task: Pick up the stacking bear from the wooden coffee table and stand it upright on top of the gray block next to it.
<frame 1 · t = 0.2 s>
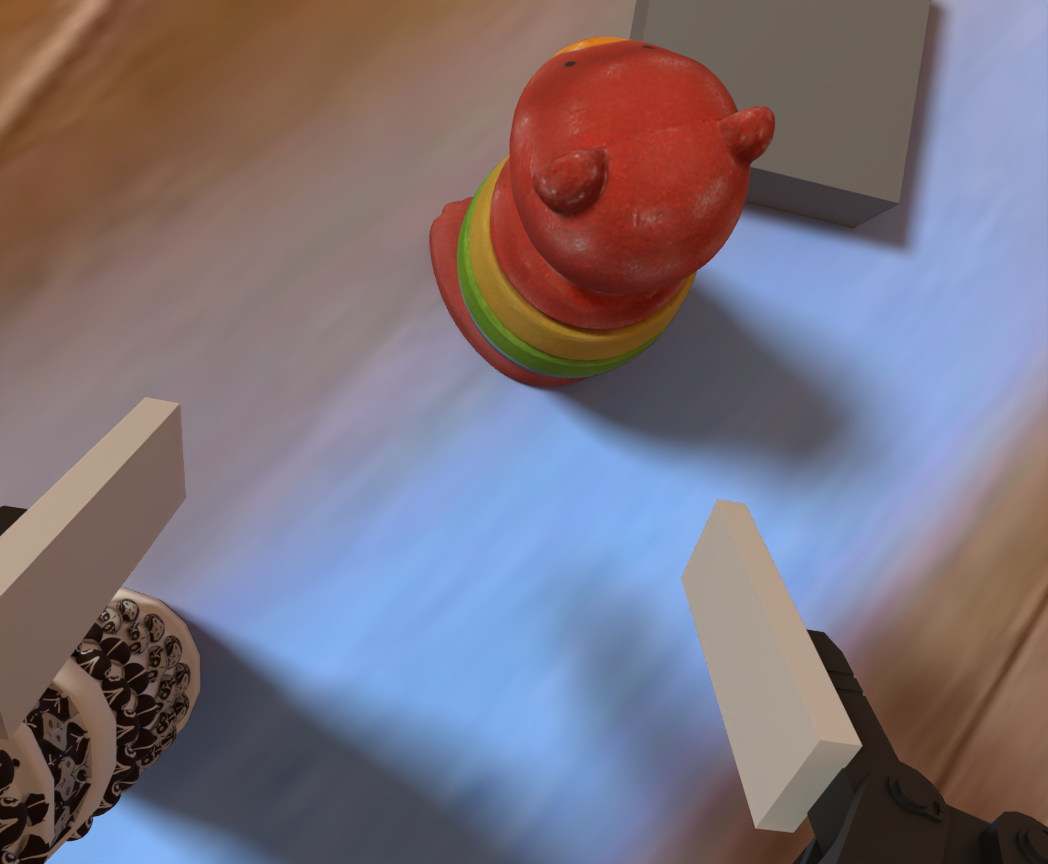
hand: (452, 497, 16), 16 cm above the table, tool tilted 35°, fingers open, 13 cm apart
stacking bear: (544, 292, 34), on the table
gray block: (750, 77, 36), on the table
decorative candle: (107, 675, 31), on the table
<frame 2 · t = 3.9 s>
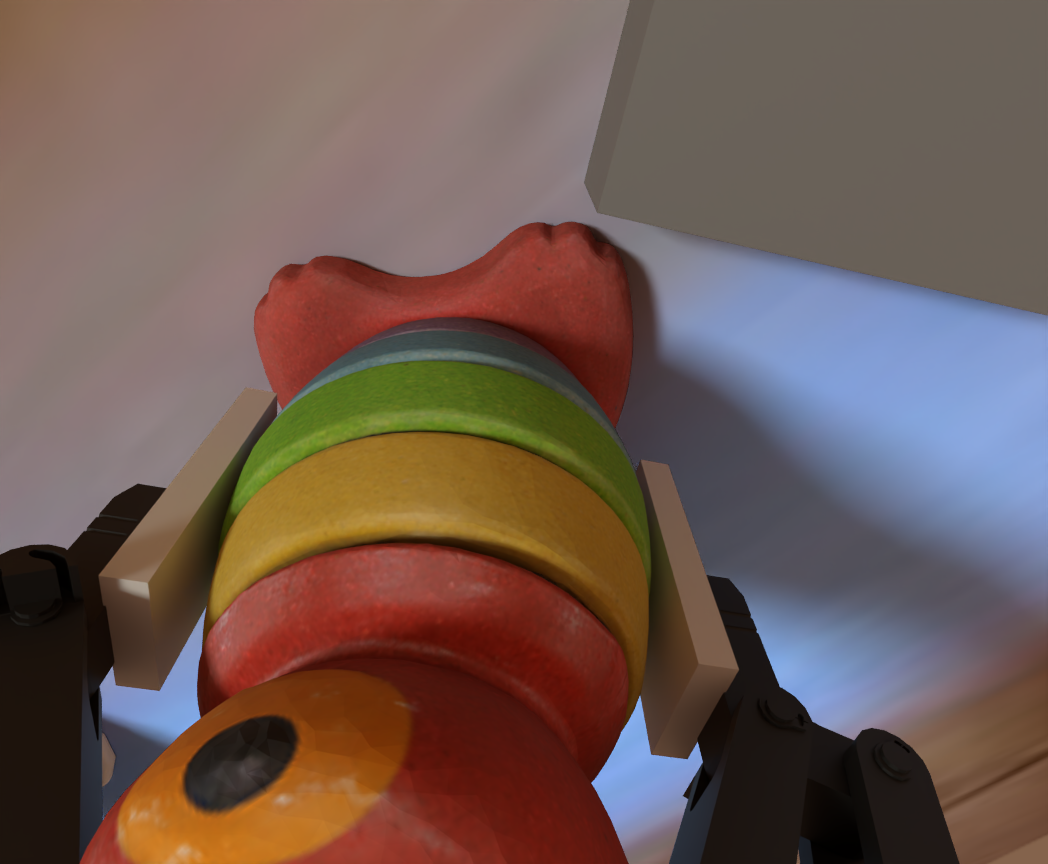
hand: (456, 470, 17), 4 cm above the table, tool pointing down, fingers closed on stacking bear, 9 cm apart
stacking bear: (463, 393, 21), on the table, touching gripper
decorative candle: (20, 740, 30), on the table
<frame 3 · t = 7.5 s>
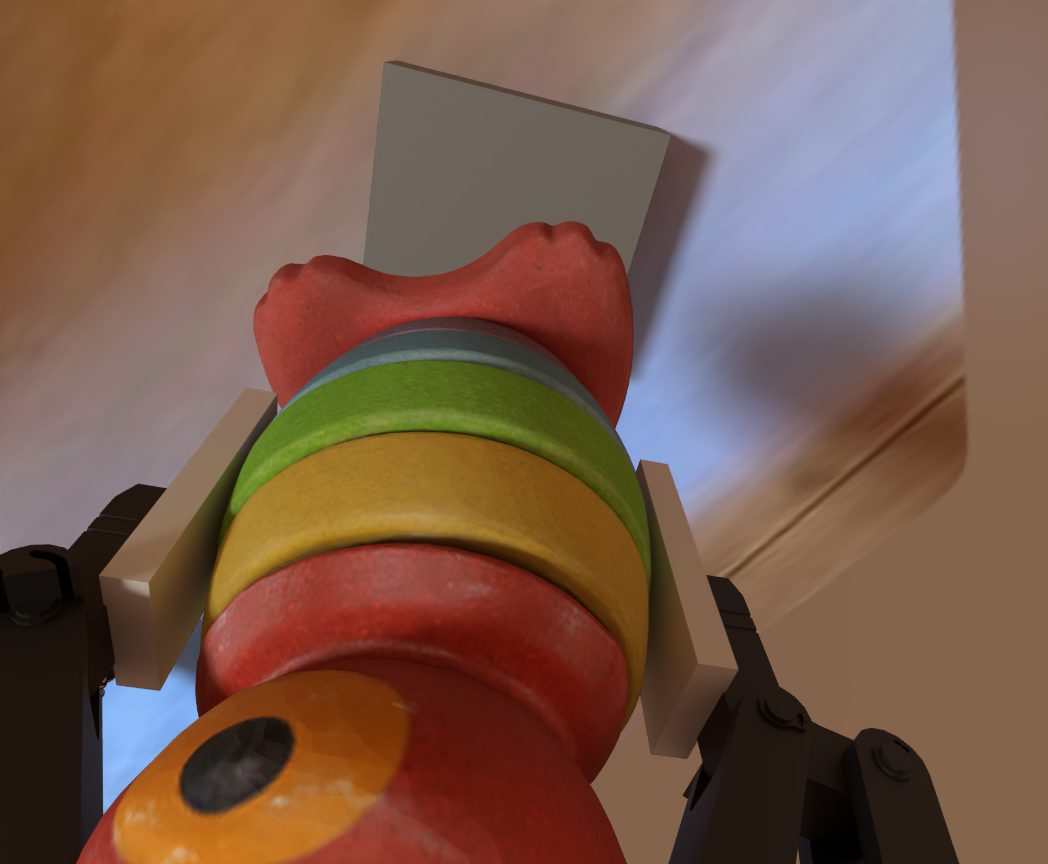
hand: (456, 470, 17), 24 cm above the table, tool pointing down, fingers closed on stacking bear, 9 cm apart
stacking bear: (463, 393, 21), point 20 cm above the table, touching gripper
gray block: (503, 226, 38), on the table
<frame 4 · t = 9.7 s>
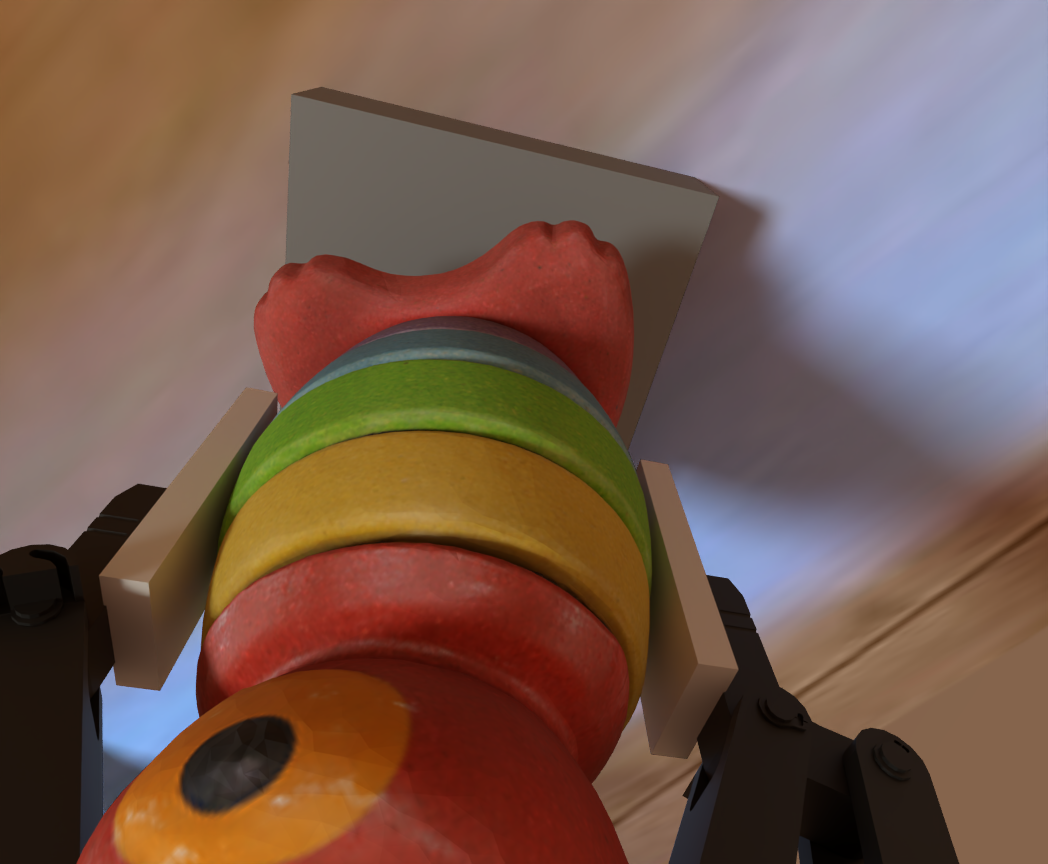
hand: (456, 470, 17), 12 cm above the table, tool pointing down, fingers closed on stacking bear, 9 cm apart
stacking bear: (464, 392, 21), point 8 cm above the table, touching gripper
gray block: (479, 307, 28), on the table
when the fingers open (9 cm above the table, at t = 11.2 s): stacking bear drops 2 cm, resting on gray block.
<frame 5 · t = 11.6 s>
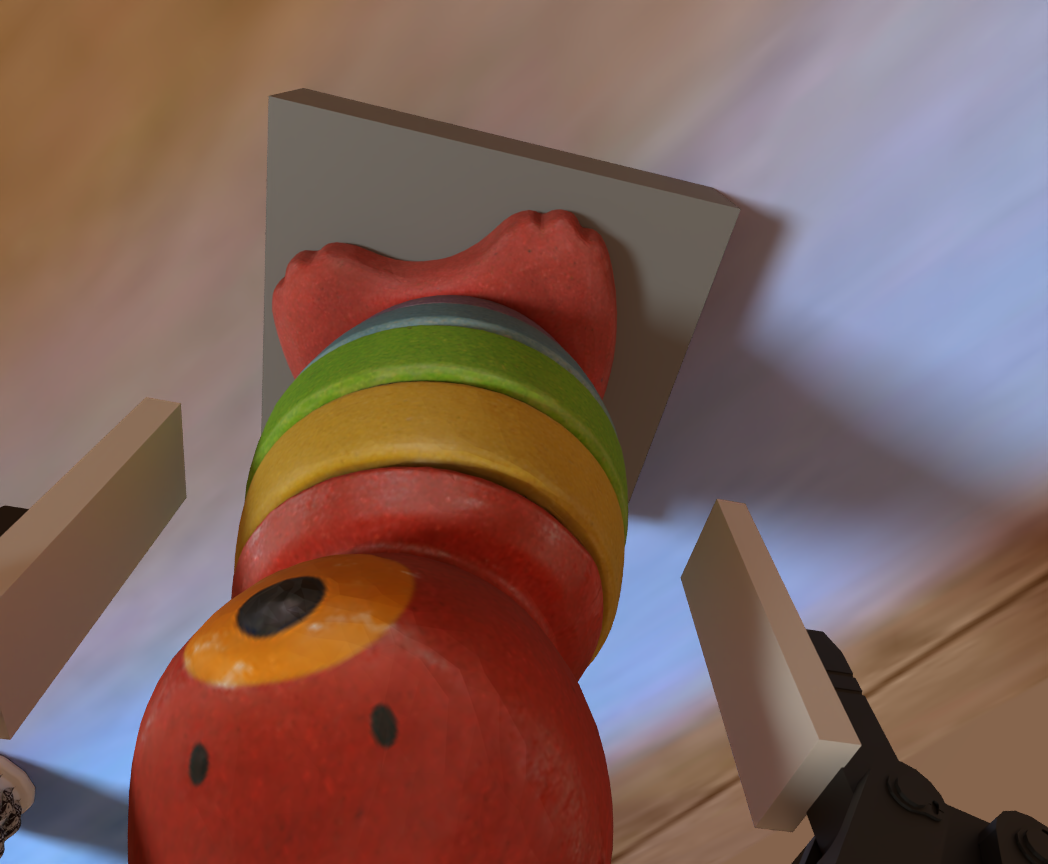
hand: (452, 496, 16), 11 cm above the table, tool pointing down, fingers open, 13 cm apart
stacking bear: (463, 370, 23), point 3 cm above the table, touching gray block
gray block: (477, 325, 26), on the table, touching stacking bear
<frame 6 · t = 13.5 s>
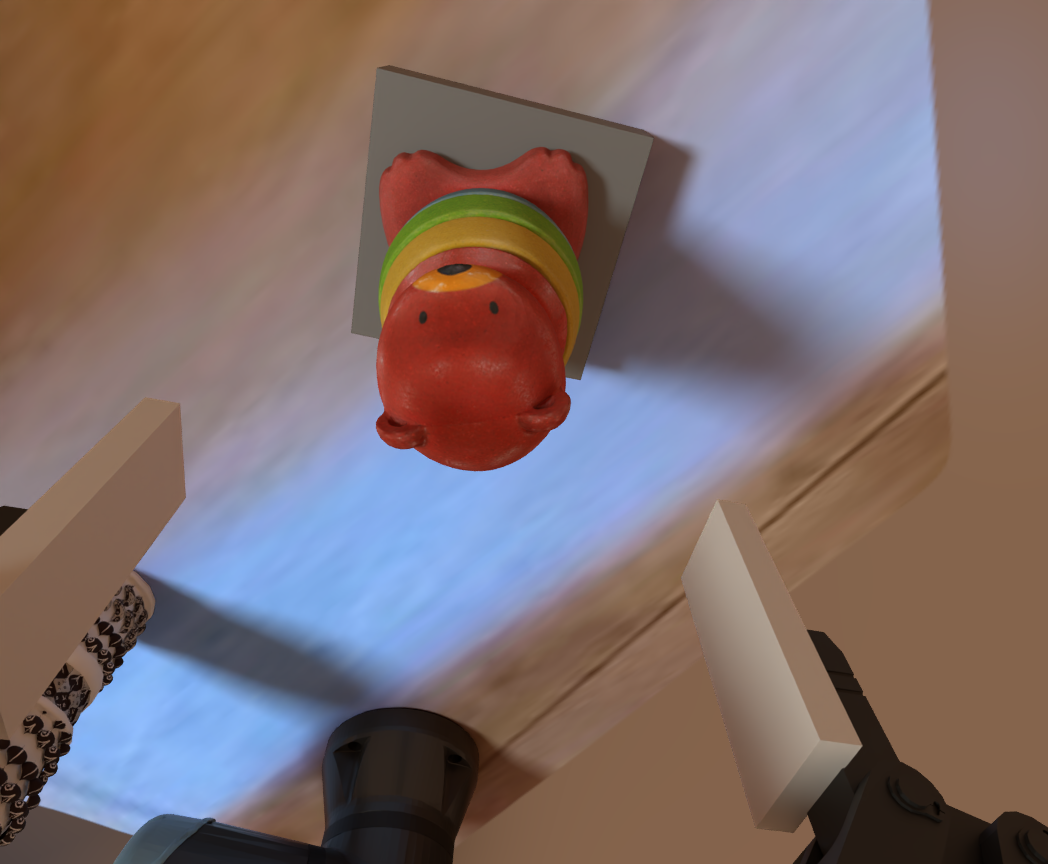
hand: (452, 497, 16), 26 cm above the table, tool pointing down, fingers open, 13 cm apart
stacking bear: (487, 245, 36), point 3 cm above the table, touching gray block
gray block: (493, 224, 39), on the table, touching stacking bear
decorative candle: (103, 591, 54), on the table
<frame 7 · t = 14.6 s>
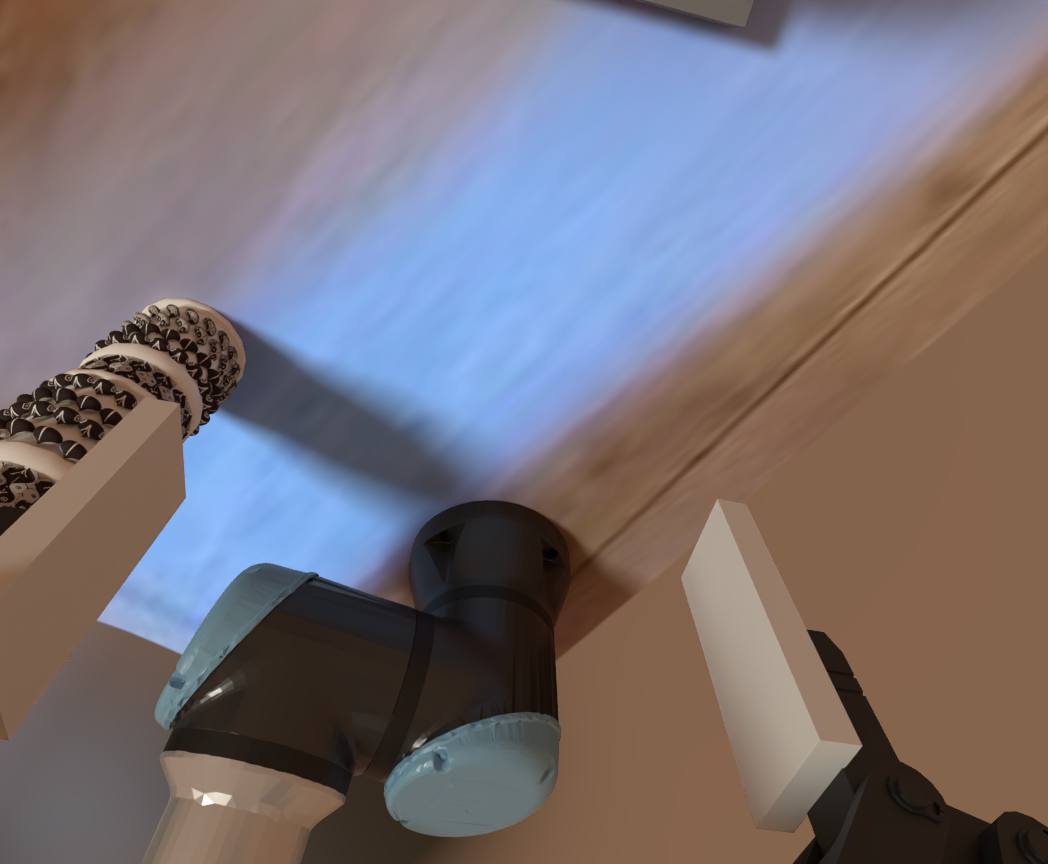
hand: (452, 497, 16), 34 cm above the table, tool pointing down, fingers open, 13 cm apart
decorative candle: (191, 347, 51), on the table
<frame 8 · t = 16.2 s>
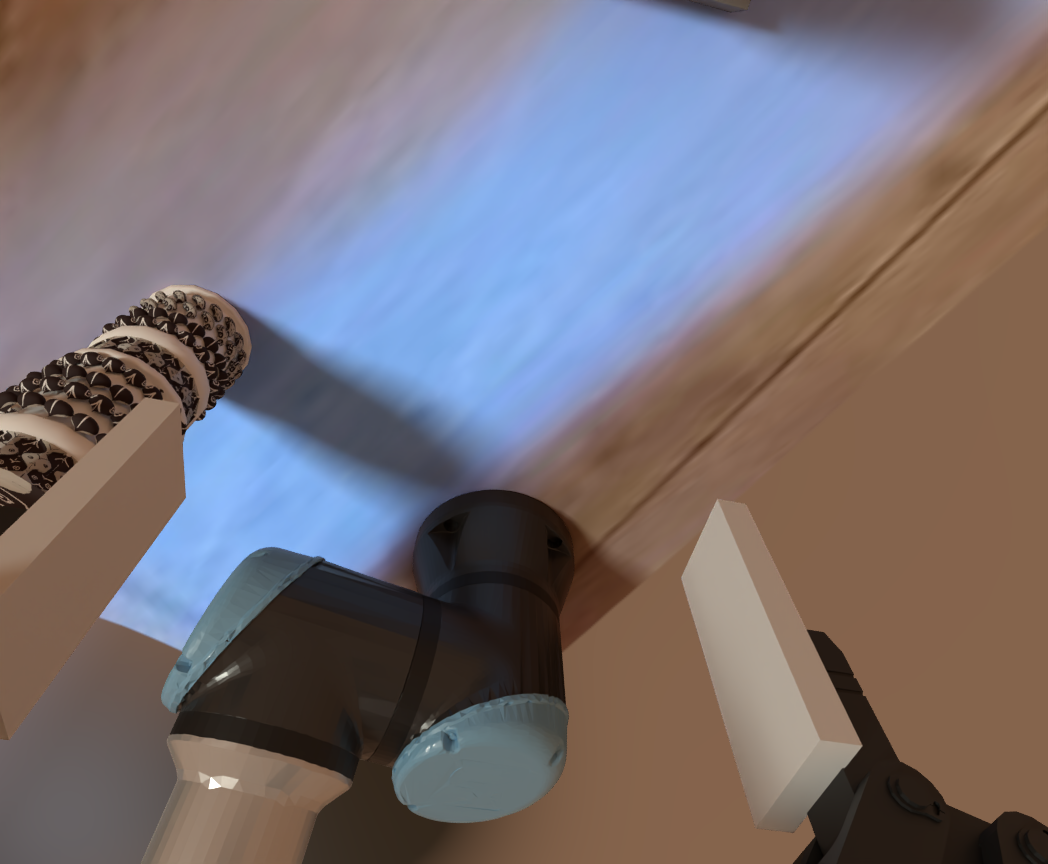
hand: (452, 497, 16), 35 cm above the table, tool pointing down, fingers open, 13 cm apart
decorative candle: (197, 334, 51), on the table
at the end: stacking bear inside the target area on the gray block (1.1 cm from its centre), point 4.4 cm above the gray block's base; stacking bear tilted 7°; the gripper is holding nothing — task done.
